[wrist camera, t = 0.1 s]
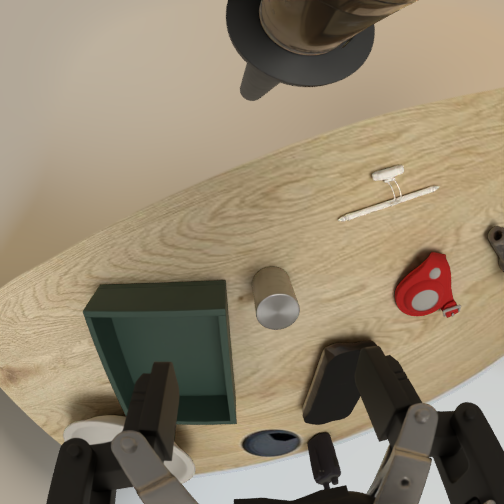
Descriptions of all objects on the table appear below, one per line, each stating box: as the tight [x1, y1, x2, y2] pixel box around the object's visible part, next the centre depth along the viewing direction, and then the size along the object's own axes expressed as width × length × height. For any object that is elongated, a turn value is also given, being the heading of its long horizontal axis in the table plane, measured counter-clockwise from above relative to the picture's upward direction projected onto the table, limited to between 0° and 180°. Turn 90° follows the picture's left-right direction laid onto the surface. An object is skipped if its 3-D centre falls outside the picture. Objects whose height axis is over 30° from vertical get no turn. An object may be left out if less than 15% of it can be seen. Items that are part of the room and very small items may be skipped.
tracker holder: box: [395, 252, 461, 318], centre depth 37 cm, size 12×4×10 cm
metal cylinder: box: [252, 267, 300, 330], centre depth 34 cm, size 4×4×6 cm
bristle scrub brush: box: [302, 341, 377, 425], centre depth 42 cm, size 16×8×4 cm, turn 173°
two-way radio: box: [308, 433, 341, 490], centre depth 44 cm, size 6×4×15 cm
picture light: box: [338, 165, 439, 221], centre depth 32 cm, size 14×4×2 cm, turn 109°
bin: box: [83, 280, 237, 425], centre depth 37 cm, size 20×16×6 cm
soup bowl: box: [63, 415, 195, 484], centre depth 45 cm, size 24×24×7 cm
